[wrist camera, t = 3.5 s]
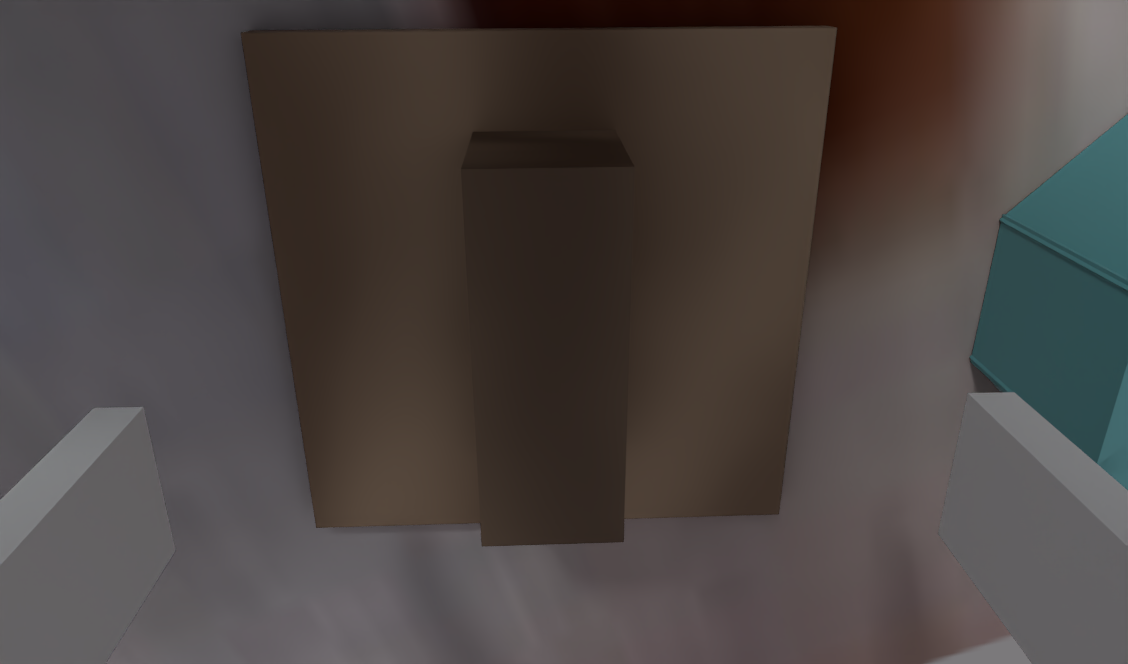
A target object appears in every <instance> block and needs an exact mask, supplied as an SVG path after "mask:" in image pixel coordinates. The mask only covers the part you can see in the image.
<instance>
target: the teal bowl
mask: <svg viewBox="0 0 1128 664" xmlns="http://www.w3.org/2000/svg"><path fill="white" fill-rule="evenodd" d="M1000 222H1001V224H1000V229H999V233H998V238H997V242H996V247H995V251H994V256H993V261H992V265H991V270H990V274H989V279H988V283H987V288H986V293H985V297H984V302H983V306H982V311H981V315H980V320H979V325H978V329H977V334H976V338H975V343H974V348H973V352H972V355H971V356H970V358H971V361H970V362H971V363H972V364H973V365H974V366H976V367H977V368H978V369H979V370H980V371H981V372H982V373H983V374H984V375H986V376H987V378H988V379H989V380H990V381H991V382H992V383H993V384H994V385H995V387H996V388H997V389H998V390H999V391H1000V392H1015V393H1016V394H1017V395H1018V396H1019V397H1020V398H1021V399H1023V400H1024V401H1025V402H1026V403H1027V404H1028V405H1030V406H1031V407H1032V408H1033V409H1034V410H1035V411H1037V412H1038V413H1039V414H1040V415H1041V416H1042V417H1043V418H1045V419H1046V420H1047V421H1048V422H1049V423H1050V424H1052V425H1053V426H1054V427H1055V428H1056V429H1057V430H1058V431H1060V432H1061V433H1062V434H1063V435H1064V436H1065V437H1067V438H1068V439H1069V440H1070V441H1071V442H1072V443H1073V444H1075V445H1076V446H1077V447H1078V448H1079V449H1080V450H1082V451H1083V452H1084V453H1085V454H1086V455H1087V456H1089V457H1090V458H1091V459H1092V460H1093V461H1094V462H1095V463H1097V464H1098V465H1099V466H1100V467H1101V468H1102V469H1104V470H1105V471H1106V472H1107V473H1108V474H1109V475H1110V476H1112V477H1113V478H1114V479H1115V480H1116V481H1117V482H1119V483H1120V484H1121V485H1122V486H1123V487H1124V488H1125V489H1127V490H1128V114H1127V115H1126V116H1125V117H1124V118H1122V119H1121V120H1120V121H1119V122H1117V123H1116V124H1115V125H1114V126H1113V127H1111V128H1110V129H1109V130H1108V131H1107V132H1105V133H1104V134H1103V135H1102V136H1100V137H1099V138H1098V139H1097V140H1096V141H1094V142H1093V143H1092V144H1091V145H1090V146H1088V147H1087V148H1086V149H1085V150H1083V151H1082V152H1081V153H1080V154H1079V155H1077V156H1076V157H1075V158H1074V159H1073V160H1071V161H1070V162H1069V163H1068V164H1066V165H1065V166H1064V167H1063V168H1062V169H1060V170H1059V171H1058V172H1057V173H1056V174H1054V175H1053V176H1052V177H1051V178H1049V179H1048V180H1047V181H1046V182H1045V183H1043V184H1042V185H1041V186H1040V187H1038V188H1037V189H1036V190H1035V191H1034V192H1032V193H1031V194H1030V195H1029V196H1028V197H1026V198H1025V199H1024V200H1023V201H1021V202H1020V203H1019V204H1018V205H1017V206H1015V207H1014V208H1013V209H1012V210H1011V211H1009V212H1008V213H1007V214H1003V215H1002V218H1001V219H1000Z"/></svg>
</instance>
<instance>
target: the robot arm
mask: <svg viewBox="0 0 1128 664" xmlns="http://www.w3.org/2000/svg"><path fill="white" fill-rule="evenodd" d="M938 535H939V536H940V537H941V539H942V540H943V541H944V543H945V544H946V546H947V547H948V548H949V550H950V551H951V552H952V554H953V555H954V557H955V558H956V559H957V561H958V562H959V563H960V565H961V566H962V568H963V569H964V570H965V572H966V573H967V575H968V576H969V577H970V579H971V580H972V581H973V583H974V584H975V586H976V587H977V588H978V590H979V591H980V592H981V594H982V595H983V597H984V598H985V599H986V601H987V602H988V603H989V605H990V606H991V608H992V609H993V610H994V612H995V613H996V614H997V616H998V617H999V619H1000V620H1001V621H1002V623H1003V624H1004V626H1005V627H1006V628H1007V630H1008V631H1009V632H1010V634H1011V635H1012V637H1013V638H1014V639H1015V641H1016V642H1017V643H1018V645H1019V646H1020V647H1021V649H1022V650H1023V652H1024V653H1025V654H1026V656H1027V657H1028V659H1029V660H1030V661H1031V663H1032V664H1128V490H1127V489H1125V488H1124V487H1123V486H1122V485H1121V484H1120V483H1119V482H1117V481H1116V480H1115V479H1114V478H1113V477H1112V476H1110V475H1109V474H1108V473H1107V472H1106V471H1105V470H1104V469H1102V468H1101V467H1100V466H1099V465H1098V464H1097V463H1095V462H1094V461H1093V460H1092V459H1091V458H1090V457H1089V456H1087V455H1086V454H1085V453H1084V452H1083V451H1082V450H1080V449H1079V448H1078V447H1077V446H1076V445H1075V444H1073V443H1072V442H1071V441H1070V440H1069V439H1068V438H1067V437H1065V436H1064V435H1063V434H1062V433H1061V432H1060V431H1058V430H1057V429H1056V428H1055V427H1054V426H1053V425H1052V424H1050V423H1049V422H1048V421H1047V420H1046V419H1045V418H1043V417H1042V416H1041V415H1040V414H1039V413H1038V412H1037V411H1035V410H1034V409H1033V408H1032V407H1031V406H1030V405H1028V404H1027V403H1026V402H1025V401H1024V400H1023V399H1021V398H1020V397H1019V396H1018V395H1017V394H1016V393H1015V392H1001V393H968V394H967V399H966V404H965V408H964V413H963V418H962V422H961V427H960V432H959V437H958V441H957V446H956V451H955V456H954V460H953V465H952V470H951V474H950V479H949V484H948V489H947V493H946V498H945V503H944V508H943V512H942V517H941V522H940V527H939V531H938ZM175 551H176V549H175V545H174V540H173V536H172V531H171V527H170V522H169V518H168V514H167V509H166V505H165V500H164V496H163V491H162V487H161V482H160V478H159V473H158V469H157V465H156V460H155V456H154V451H153V447H152V442H151V438H150V433H149V429H148V425H147V420H146V416H145V411H144V407H115V408H93V409H92V410H91V411H90V412H89V413H88V414H87V415H86V416H85V417H84V418H83V419H82V420H81V421H80V422H79V423H78V424H77V425H76V426H75V427H74V428H73V429H72V430H71V431H70V432H69V433H68V434H67V435H66V436H65V437H64V438H63V439H62V440H61V441H60V442H59V443H58V444H57V445H56V446H55V447H54V448H53V449H52V450H51V451H50V452H49V453H47V454H46V455H45V456H44V457H43V458H42V459H41V460H40V461H39V462H38V463H37V464H36V465H35V466H34V467H33V468H32V469H31V470H30V471H29V472H28V473H27V474H26V475H25V476H24V477H23V478H22V479H21V480H20V481H19V482H18V483H17V484H16V485H15V486H14V487H13V488H12V489H11V490H10V491H9V492H8V493H7V494H6V495H5V496H4V497H3V498H2V499H1V500H0V664H106V662H107V661H108V659H109V657H110V656H111V654H112V653H113V651H114V649H115V648H116V646H117V645H118V643H119V641H120V640H121V638H122V636H123V635H124V633H125V632H126V630H127V628H128V627H129V625H130V624H131V622H132V620H133V619H134V617H135V616H136V614H137V612H138V611H139V609H140V608H141V606H142V604H143V603H144V601H145V599H146V598H147V596H148V595H149V593H150V591H151V590H152V588H153V587H154V585H155V583H156V582H157V580H158V579H159V577H160V575H161V574H162V572H163V571H164V569H165V567H166V566H167V564H168V563H169V561H170V559H171V558H172V556H173V554H174V553H175Z"/></svg>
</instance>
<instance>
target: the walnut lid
mask: <svg viewBox="0 0 1128 664" xmlns="http://www.w3.org/2000/svg"><path fill="white" fill-rule="evenodd" d="M836 33H837V28H836V27H831V26H734V27H612V28H490V29H367V30H250V31H246V32H242V33H241V38H242V44H243V51H244V57H245V64H246V71H247V77H248V84H249V90H250V97H251V103H252V110H253V116H254V123H255V130H256V136H257V143H258V149H259V156H260V162H261V169H262V175H263V182H264V189H265V195H266V202H267V208H268V215H269V221H270V228H271V234H272V241H273V248H274V254H275V261H276V267H277V274H278V280H279V287H280V293H281V300H282V307H283V313H284V320H285V326H286V333H287V339H288V346H289V352H290V359H291V366H292V372H293V379H294V385H295V392H296V398H297V405H298V411H299V418H300V425H301V431H302V438H303V444H304V451H305V457H306V464H307V470H308V477H309V483H310V490H311V497H312V503H313V510H314V516H315V523H316V528H326V527H360V526H395V525H429V524H463V523H480V524H481V542H482V546H510V545H544V544H577V543H610V542H624V519H634V518H668V517H703V516H737V515H771V514H779V509H780V500H781V492H782V484H783V475H784V467H785V459H786V450H787V442H788V434H789V425H790V417H791V409H792V400H793V392H794V383H795V375H796V367H797V358H798V350H799V342H800V333H801V325H802V317H803V308H804V300H805V292H806V283H807V275H808V267H809V258H810V250H811V242H812V233H813V225H814V217H815V208H816V200H817V191H818V183H819V175H820V166H821V158H822V150H823V141H824V133H825V125H826V116H827V108H828V100H829V91H830V83H831V75H832V66H833V58H834V50H835V41H836Z"/></svg>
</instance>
